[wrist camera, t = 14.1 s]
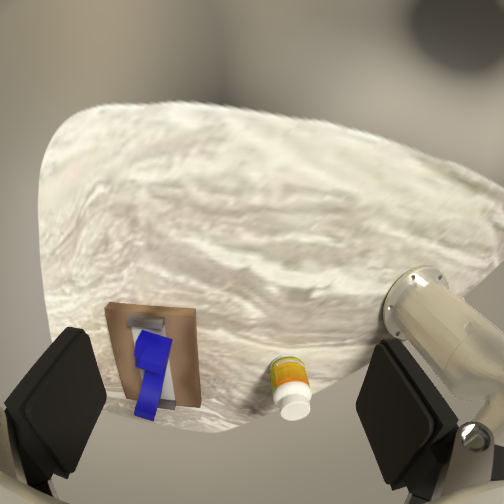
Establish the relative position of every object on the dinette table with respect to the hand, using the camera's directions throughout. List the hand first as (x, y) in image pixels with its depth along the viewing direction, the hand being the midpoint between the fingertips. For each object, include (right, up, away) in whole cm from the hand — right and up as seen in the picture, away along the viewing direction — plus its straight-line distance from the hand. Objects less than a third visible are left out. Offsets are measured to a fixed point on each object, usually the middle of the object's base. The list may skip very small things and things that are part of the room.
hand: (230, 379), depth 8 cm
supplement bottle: (+6, -14, +34) cm, 37 cm away
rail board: (-14, -12, +33) cm, 38 cm away
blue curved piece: (-14, -13, +31) cm, 36 cm away
